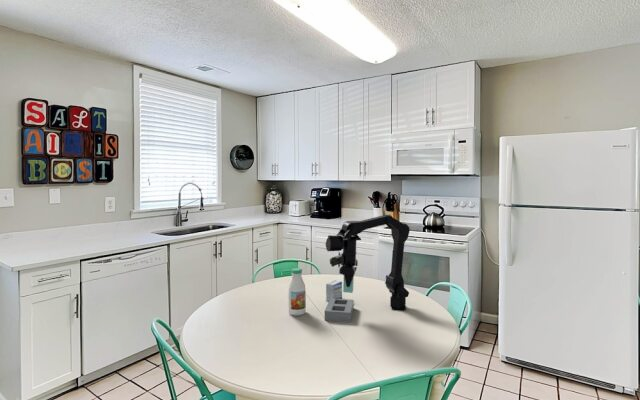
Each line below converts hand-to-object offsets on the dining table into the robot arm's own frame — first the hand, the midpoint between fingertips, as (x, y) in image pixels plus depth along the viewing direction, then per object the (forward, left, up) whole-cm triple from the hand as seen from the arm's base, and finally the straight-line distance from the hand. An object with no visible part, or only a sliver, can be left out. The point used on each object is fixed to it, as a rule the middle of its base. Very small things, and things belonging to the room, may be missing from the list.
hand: (348, 285), depth 158 cm
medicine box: (+9, -19, -14) cm, 25 cm away
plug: (0, 0, -3) cm, 2 cm away
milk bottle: (+23, +1, -14) cm, 27 cm away
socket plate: (+4, -1, -13) cm, 14 cm away
